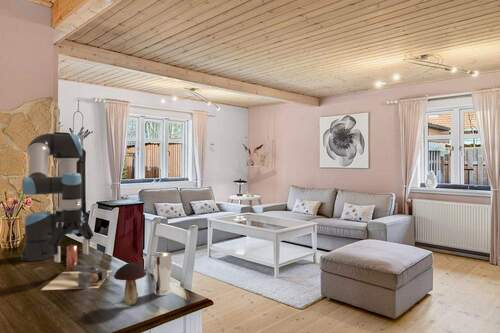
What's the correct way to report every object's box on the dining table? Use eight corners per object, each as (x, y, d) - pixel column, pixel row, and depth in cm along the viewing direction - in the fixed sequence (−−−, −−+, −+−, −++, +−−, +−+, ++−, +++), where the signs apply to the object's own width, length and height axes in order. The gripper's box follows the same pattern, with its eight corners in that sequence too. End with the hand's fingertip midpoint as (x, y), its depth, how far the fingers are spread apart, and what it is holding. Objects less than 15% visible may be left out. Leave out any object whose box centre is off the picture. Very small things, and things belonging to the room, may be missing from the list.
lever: (74, 269, 153) (73, 244, 152) (109, 277, 143) (109, 250, 143) (63, 273, 148) (63, 246, 148) (99, 280, 139) (99, 253, 139)
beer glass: (155, 289, 137) (155, 252, 136) (173, 289, 137) (173, 251, 137) (151, 296, 130) (151, 257, 129) (170, 296, 130) (170, 256, 130)
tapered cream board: (63, 275, 152) (62, 260, 152) (112, 273, 155) (112, 259, 155) (40, 294, 131) (40, 277, 131) (98, 291, 134) (98, 275, 134)
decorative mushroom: (152, 301, 126) (152, 260, 125) (133, 313, 115) (133, 269, 115) (127, 297, 129) (127, 257, 129) (106, 309, 119) (106, 265, 118)
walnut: (89, 281, 141) (89, 272, 140) (100, 281, 141) (99, 271, 141) (86, 285, 137) (86, 275, 137) (96, 284, 137) (96, 274, 137)
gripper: (49, 213, 136) (50, 266, 136) (101, 205, 158) (101, 251, 159) (37, 212, 139) (38, 264, 140) (90, 204, 162) (90, 249, 162)
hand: (72, 257), depth 149 cm, fingers open, 13 cm apart
